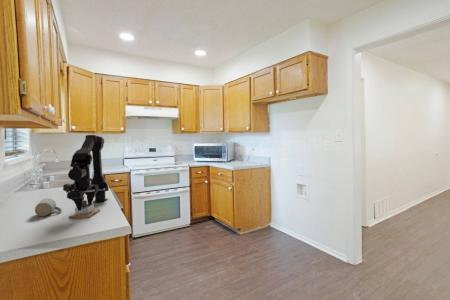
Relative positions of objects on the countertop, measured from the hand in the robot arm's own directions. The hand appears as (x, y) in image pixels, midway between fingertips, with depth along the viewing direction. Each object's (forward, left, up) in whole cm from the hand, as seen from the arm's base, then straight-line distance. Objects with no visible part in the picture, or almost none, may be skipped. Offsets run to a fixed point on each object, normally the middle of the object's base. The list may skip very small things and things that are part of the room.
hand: (84, 207), depth 118 cm
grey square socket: (0, 0, -2) cm, 3 cm away
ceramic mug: (-4, -20, -4) cm, 21 cm away
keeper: (0, 0, -4) cm, 4 cm away
